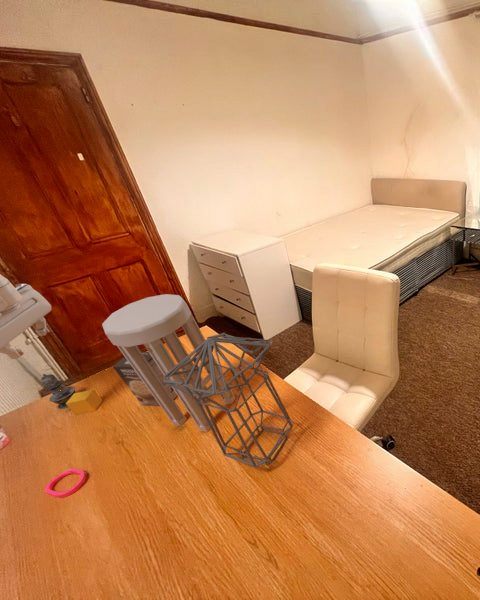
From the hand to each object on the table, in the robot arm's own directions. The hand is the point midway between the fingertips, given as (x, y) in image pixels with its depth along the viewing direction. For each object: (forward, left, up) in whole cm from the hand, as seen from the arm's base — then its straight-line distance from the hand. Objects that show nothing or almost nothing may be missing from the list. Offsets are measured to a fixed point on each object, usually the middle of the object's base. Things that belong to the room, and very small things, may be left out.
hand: (32, 344), depth 80 cm
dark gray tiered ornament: (-8, +5, -25) cm, 27 cm away
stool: (+36, -13, -25) cm, 46 cm away
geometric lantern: (+54, -30, -25) cm, 67 cm away
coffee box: (+21, -3, -25) cm, 33 cm away
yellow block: (0, 0, -25) cm, 25 cm away
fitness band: (+9, -26, -25) cm, 37 cm away
